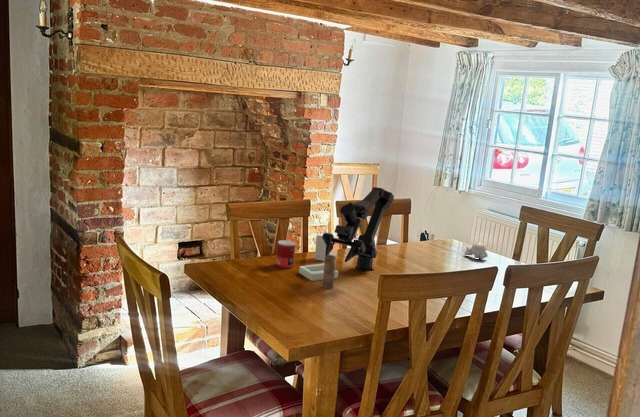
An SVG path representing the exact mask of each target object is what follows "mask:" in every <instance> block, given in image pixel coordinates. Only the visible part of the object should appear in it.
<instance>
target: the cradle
mask: <svg viewBox="0 0 640 417" xmlns="http://www.w3.org/2000/svg"><path fill="white" fill-rule="evenodd" d="M324 264H325V263H321V264H320V263H318V264H310V265H301V266H299V272H298V273H299V274H301V275H302V276H304V277H305V278H306V279H308V280H309V281H311V282H315V281H323V274H324ZM339 272H340V271H339V270H337V269H335V273H334V279H338V278H339Z"/></svg>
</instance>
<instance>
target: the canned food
mask: <svg viewBox="0 0 640 417" xmlns="http://www.w3.org/2000/svg"><path fill="white" fill-rule="evenodd" d="M276 246H277V248H276V260H275V261H276V262H275V264H276V267H278V268H281V269H292V268H293V267H294V265H295V256H296V255H295V252H296V242H294V241H293V240H286V239H283V240H282V239H281V240H280V239H279V240H278V241H277V244H276Z"/></svg>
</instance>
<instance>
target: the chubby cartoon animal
mask: <svg viewBox="0 0 640 417" xmlns="http://www.w3.org/2000/svg"><path fill="white" fill-rule="evenodd" d="M465 248H466V249H465V250H463V253H464V254H463V255H464V256H465V255H470V256H472V255H473V256H474V257H475V258H480V259H479V260H483V259H485V258H488V256H489V255H488V252H487V251H486V250H487V248H486V246H485V244H484V243H482V242H474V243H473V244H472V246H470V245H469V246H465ZM474 257H473V258H474Z"/></svg>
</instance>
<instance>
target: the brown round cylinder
mask: <svg viewBox="0 0 640 417" xmlns="http://www.w3.org/2000/svg"><path fill="white" fill-rule="evenodd" d="M336 262H337V256H335V255H333V254H330V255H326V256H325V261H324V263H323V264H324V274H323V280H322V285H321V286H322V288H323V289H325V290H331V289H334V283H335V278H334V273H335V270H336Z"/></svg>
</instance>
